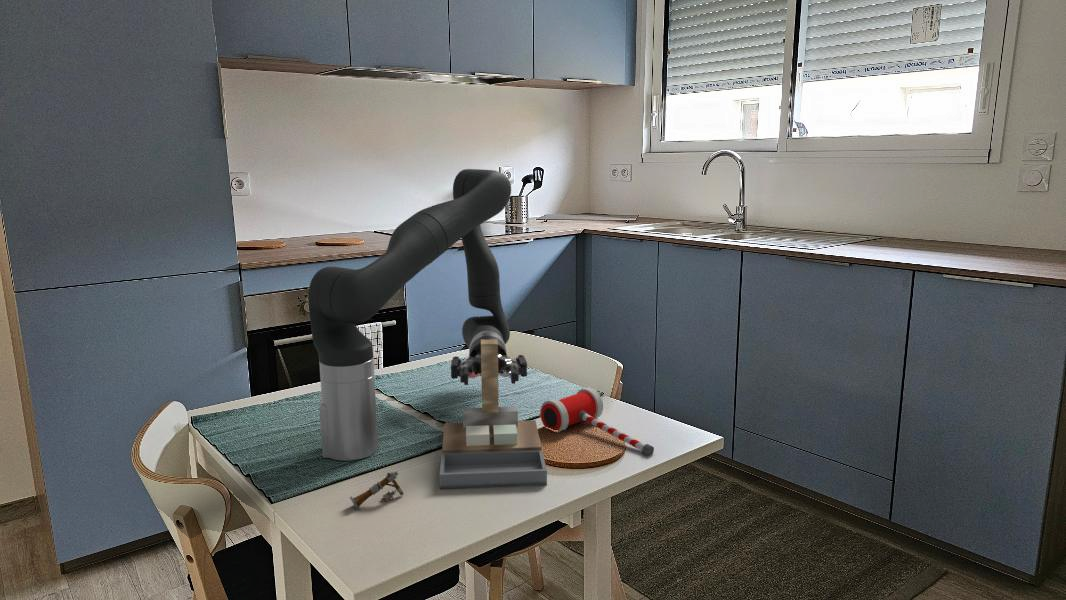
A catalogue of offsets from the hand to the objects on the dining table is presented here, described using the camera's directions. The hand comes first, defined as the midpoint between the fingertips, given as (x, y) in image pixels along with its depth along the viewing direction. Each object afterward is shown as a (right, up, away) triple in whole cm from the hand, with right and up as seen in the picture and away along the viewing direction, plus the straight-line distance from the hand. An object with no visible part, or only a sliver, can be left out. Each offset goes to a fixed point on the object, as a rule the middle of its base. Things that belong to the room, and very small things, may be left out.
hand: (489, 379), depth 129 cm
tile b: (+3, -10, -3) cm, 11 cm away
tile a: (-2, -10, -3) cm, 11 cm away
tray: (+1, -15, -10) cm, 18 cm away
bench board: (0, -13, 0) cm, 13 cm away
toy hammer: (+20, -11, +8) cm, 24 cm away
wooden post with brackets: (-16, -17, -18) cm, 30 cm away
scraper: (0, -9, +4) cm, 10 cm away
